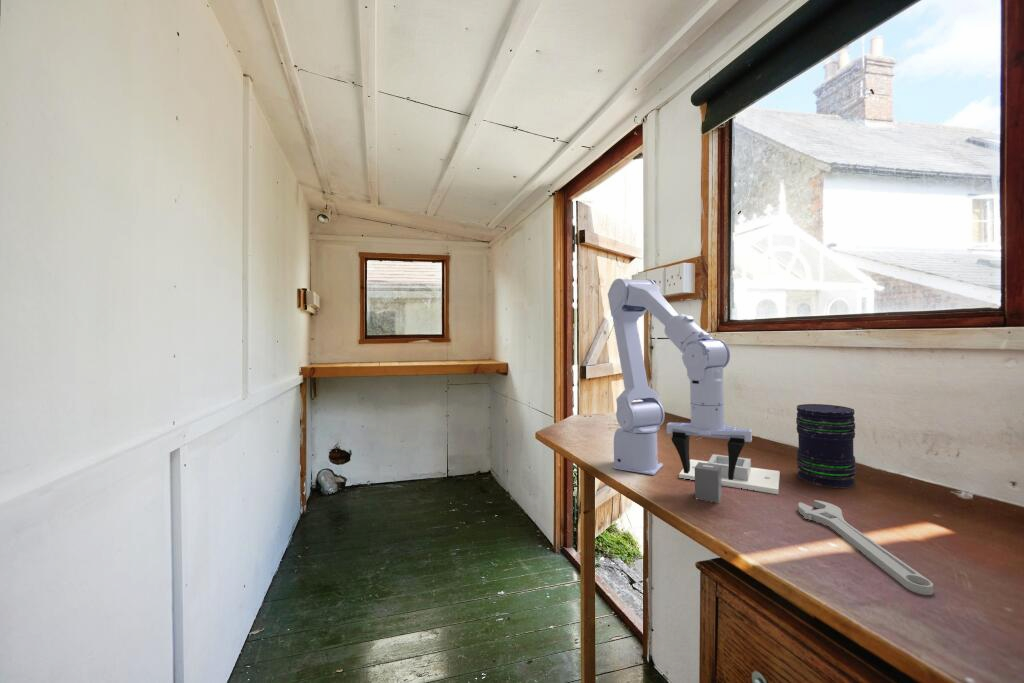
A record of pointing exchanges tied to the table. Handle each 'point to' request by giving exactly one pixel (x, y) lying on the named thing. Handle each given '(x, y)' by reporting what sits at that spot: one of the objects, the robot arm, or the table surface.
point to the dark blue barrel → (826, 445)
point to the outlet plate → (740, 474)
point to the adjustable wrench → (867, 546)
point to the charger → (708, 482)
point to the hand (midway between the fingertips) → (708, 475)
